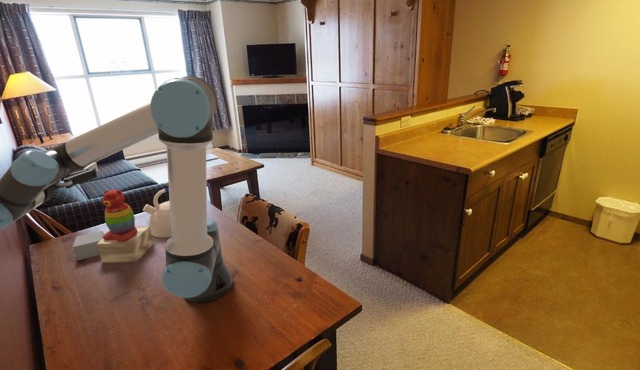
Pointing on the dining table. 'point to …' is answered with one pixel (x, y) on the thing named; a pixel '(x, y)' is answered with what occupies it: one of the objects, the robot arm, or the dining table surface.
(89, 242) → the stoneware block
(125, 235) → the stacking bear
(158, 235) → the kettle
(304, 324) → the dining table surface
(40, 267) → the dining table surface
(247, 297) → the dining table surface
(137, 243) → the birch block
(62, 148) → the robot arm
